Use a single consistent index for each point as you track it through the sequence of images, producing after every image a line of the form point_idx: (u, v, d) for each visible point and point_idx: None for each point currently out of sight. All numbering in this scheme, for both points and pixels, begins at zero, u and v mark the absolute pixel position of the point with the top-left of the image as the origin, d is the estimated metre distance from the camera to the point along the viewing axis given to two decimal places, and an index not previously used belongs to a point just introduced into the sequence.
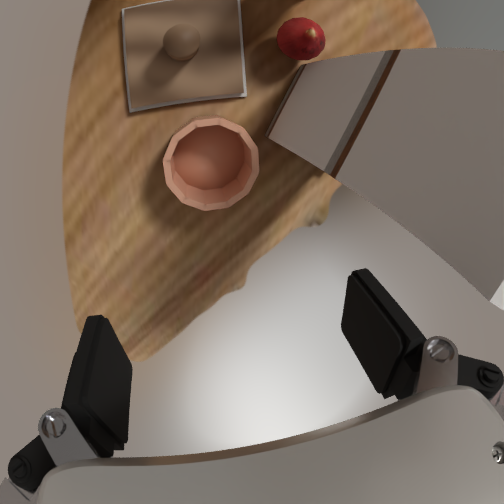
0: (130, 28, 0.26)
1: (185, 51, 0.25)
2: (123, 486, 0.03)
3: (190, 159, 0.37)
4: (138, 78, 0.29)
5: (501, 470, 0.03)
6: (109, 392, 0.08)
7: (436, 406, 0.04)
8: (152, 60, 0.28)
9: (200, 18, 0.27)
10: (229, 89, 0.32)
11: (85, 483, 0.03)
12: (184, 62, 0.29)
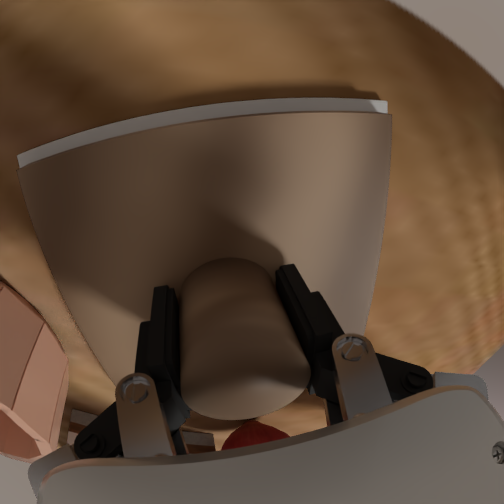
0: (321, 132, 0.09)
1: (202, 402, 0.08)
2: (123, 486, 0.03)
3: None
4: (112, 178, 0.09)
5: (501, 470, 0.03)
6: None
7: (436, 406, 0.04)
8: (179, 220, 0.10)
9: None
10: None
11: (84, 482, 0.03)
12: None
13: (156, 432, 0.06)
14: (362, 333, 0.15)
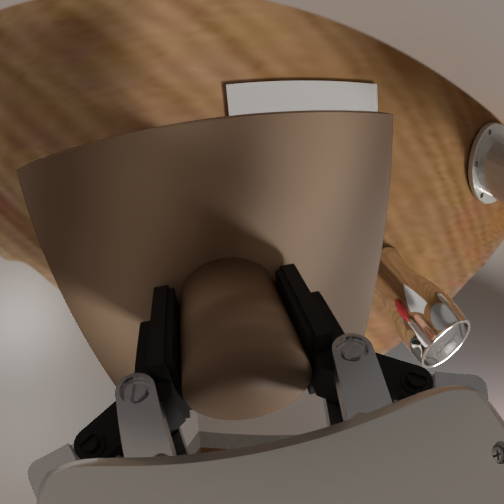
0: (322, 131, 0.09)
1: (204, 402, 0.08)
2: (123, 486, 0.03)
3: None
4: (113, 177, 0.09)
5: (501, 470, 0.03)
6: None
7: (436, 406, 0.04)
8: (180, 219, 0.10)
9: None
10: None
11: (84, 482, 0.03)
12: None
13: (156, 432, 0.06)
14: (363, 333, 0.15)
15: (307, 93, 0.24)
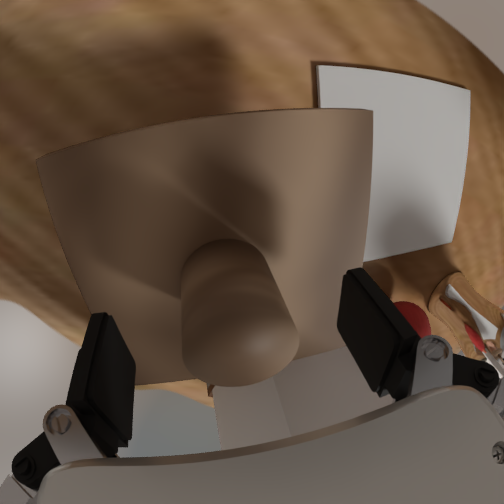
0: (307, 126, 0.11)
1: (201, 366, 0.10)
2: (123, 486, 0.03)
3: None
4: (124, 167, 0.10)
5: (501, 470, 0.03)
6: (113, 389, 0.08)
7: (436, 406, 0.04)
8: (182, 204, 0.11)
9: (302, 302, 0.15)
10: None
11: (84, 483, 0.03)
12: (178, 287, 0.13)
13: (90, 454, 0.05)
14: None
15: (409, 91, 0.17)
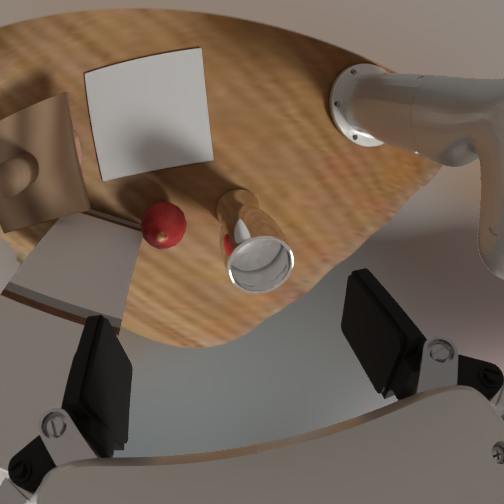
0: (41, 107, 0.23)
1: None
2: (123, 486, 0.03)
3: None
4: None
5: (501, 470, 0.03)
6: (109, 392, 0.08)
7: (436, 406, 0.04)
8: (11, 142, 0.23)
9: (54, 179, 0.27)
10: (2, 220, 0.27)
11: (84, 483, 0.03)
12: None
13: (86, 456, 0.05)
14: (81, 188, 0.29)
15: (140, 67, 0.29)
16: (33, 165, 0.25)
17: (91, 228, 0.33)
